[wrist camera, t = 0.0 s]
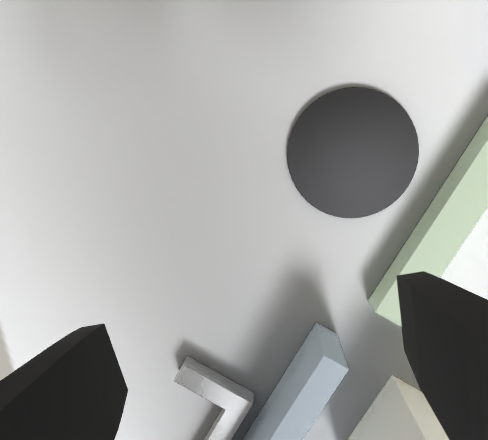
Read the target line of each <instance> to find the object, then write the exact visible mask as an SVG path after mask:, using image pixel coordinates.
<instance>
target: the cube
mask: <svg viewBox="0 0 488 440" xmlns="http://www.w3.org/2000/svg"><path fill="white" fill-rule="evenodd" d="M348 440H449V438H448V437H447V435H446V433H445V431H444V430H443V428H442V426H441V424H440V423H439V421H438V419H437V417H436V416H435V414H434V412H433V410H432V408H431V407H430V405H429V403H428V401H427V400H426V398H425V396H424V394H423V392H421V391H419V390H418V389H416V388H414V387H412V386H411V385H409V384H407V383H405V382H403V381H402V380H400V379H398V378H396V377H394V376H393V375H391V377H390V378H389V380H388V381H387V383H386V384H385V386H384V387H383V389H382V390H381V391H380V393H379V394H378V396H377V397H376V399H375V400H374V402H373V403H372V405H371V406H370V408H369V409H368V410H367V412H366V413H365V415H364V416H363V418H362V419H361V421H360V422H359V424H358V425H357V426H356V428H355V429H354V431H353V432H352V434H351V435H350V437H349V438H348Z"/></svg>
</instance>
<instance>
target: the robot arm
mask: <svg viewBox="0 0 488 440" xmlns="http://www.w3.org/2000/svg"><path fill="white" fill-rule="evenodd" d="M396 277H397V286H398V296H399V305H400V314H401V324H402V333H403V343H404V350H405V353H406V355H407V358H408V360H409V363H410V365H411V368H412V370H413V373H414V375H415V377H416V380H417V382H418V384H419V387H420V389H421V391H422V392H423V394H424V396H425V398H426V400H427V401H428V403H429V405H430V407H431V408H432V410H433V412H434V414H435V416H436V417H437V419H438V421H439V423H440V424H441V426H442V428H443V430H444V431H445V433H446V435H447V437H448V438H449V440H488V300H487V299H485V298H482V297H480V296H478V295H476V294H474V293H471V292H469V291H467V290H465V289H463V288H461V287H458V286H456V285H454V284H452V283H450V282H448V281H446V280H443V279H441V278H439V277H437V276H434V275H432V274H430V273H427V272H424V271H421V272H415V273H409V274H403V275H397V276H396ZM127 392H128V389H127V386H126V383H125V380H124V377H123V375H122V372H121V369H120V366H119V363H118V361H117V358H116V355H115V352H114V349H113V347H112V344H111V341H110V338H109V336H108V333H107V330H106V327H105V324H99V325H93V326H87V327H81V328H79V329H77V330H76V331H74V332H72V333H70V334H68V335H67V336H65V337H64V338H62V339H61V340H59V341H58V342H56V343H55V344H53V345H52V346H50V347H49V348H47V349H46V350H44V351H43V352H41V353H40V354H38V355H37V356H36V357H34V358H33V359H31V360H30V361H28V362H27V363H25V364H24V365H23V366H21V367H20V368H18V369H17V370H15V371H14V372H13V373H11V374H10V375H8V376H7V377H5V378H4V379H2V380H1V381H0V440H114V439H115V436H116V433H117V431H118V428H119V424H120V421H121V417H122V413H123V409H124V405H125V401H126V396H127Z"/></svg>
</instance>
